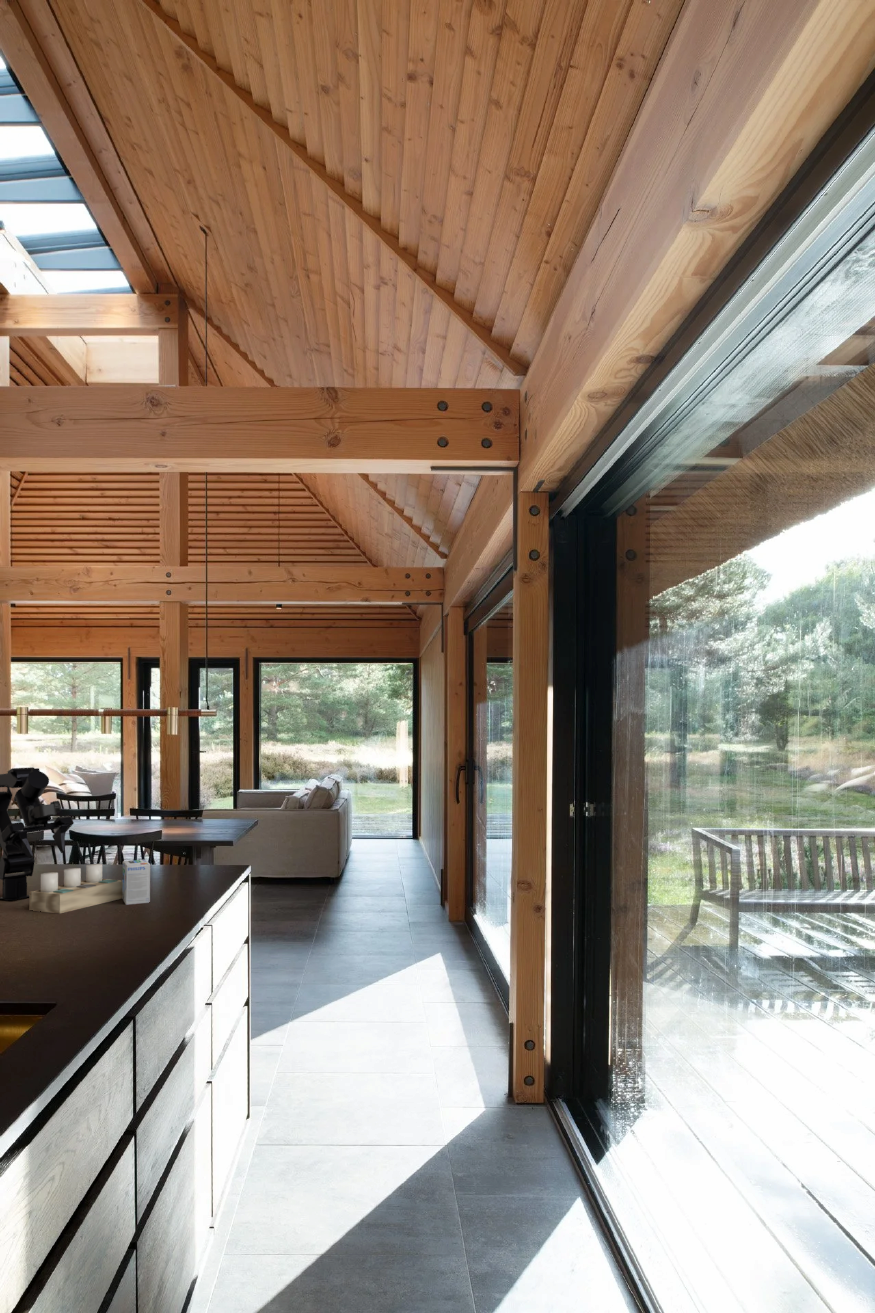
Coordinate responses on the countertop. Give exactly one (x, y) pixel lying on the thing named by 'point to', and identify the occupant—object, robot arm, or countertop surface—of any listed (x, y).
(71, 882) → the button
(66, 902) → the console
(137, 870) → the light bulb box
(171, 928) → the countertop surface
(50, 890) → the button
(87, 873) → the button
